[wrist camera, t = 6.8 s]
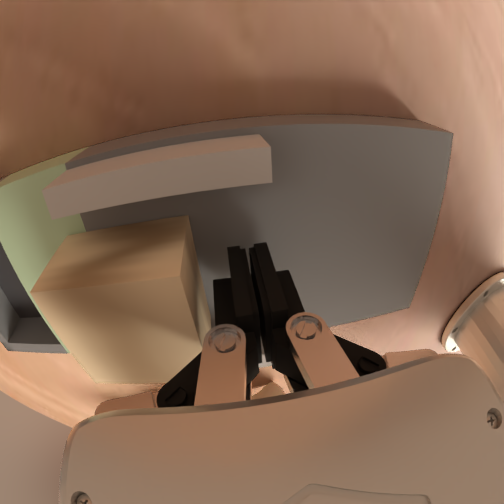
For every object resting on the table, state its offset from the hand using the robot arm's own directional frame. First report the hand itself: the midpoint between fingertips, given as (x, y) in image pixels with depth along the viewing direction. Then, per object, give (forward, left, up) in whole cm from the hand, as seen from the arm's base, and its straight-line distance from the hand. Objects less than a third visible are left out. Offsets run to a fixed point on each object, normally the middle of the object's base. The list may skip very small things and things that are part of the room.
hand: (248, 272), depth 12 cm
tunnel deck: (+5, 0, -4) cm, 6 cm away
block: (+5, 0, -1) cm, 5 cm away
